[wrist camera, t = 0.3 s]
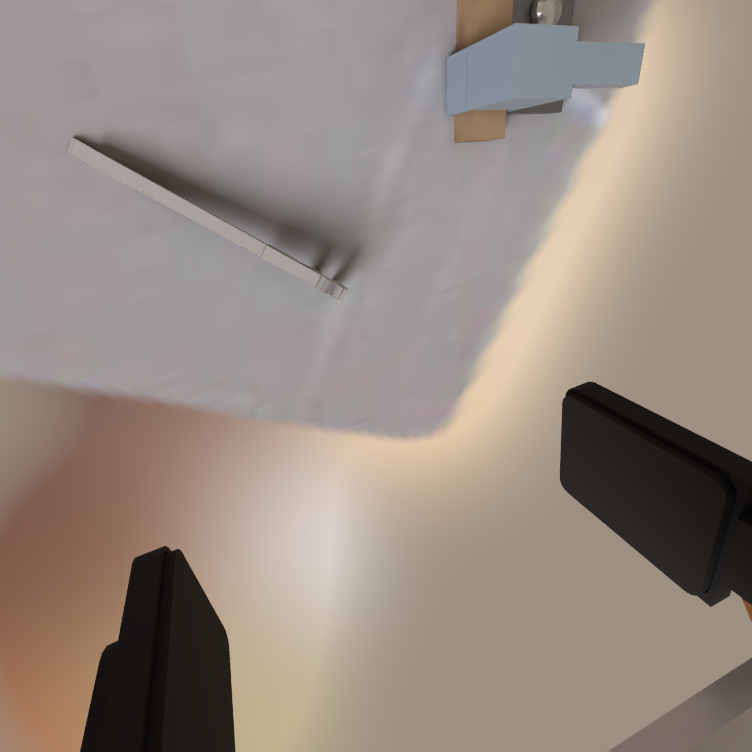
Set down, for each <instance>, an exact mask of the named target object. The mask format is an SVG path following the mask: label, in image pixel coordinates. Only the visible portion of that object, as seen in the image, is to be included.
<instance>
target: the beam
mask: <svg viewBox="0 0 752 752" xmlns="http://www.w3.org/2000/svg"><path fill="white" fill-rule="evenodd" d="M512 14H513V0H457V42H456V53H457V52H459V51H461V50H463V49H465V48H467V47H469V46H471V45H473V44H475V43H477V42H479V41H481V40H483V39H485V38H487V37H489V36H491V35H493V34H495V33H497V32H499V31H501V30H503V29H505V28H507V27H509V26H511V25H512ZM505 124H506V110H472V111H468V112H465V113H461V114H457V115H455V143H457V142H478V141H489V140H496V139H503V138H505Z"/></svg>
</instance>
